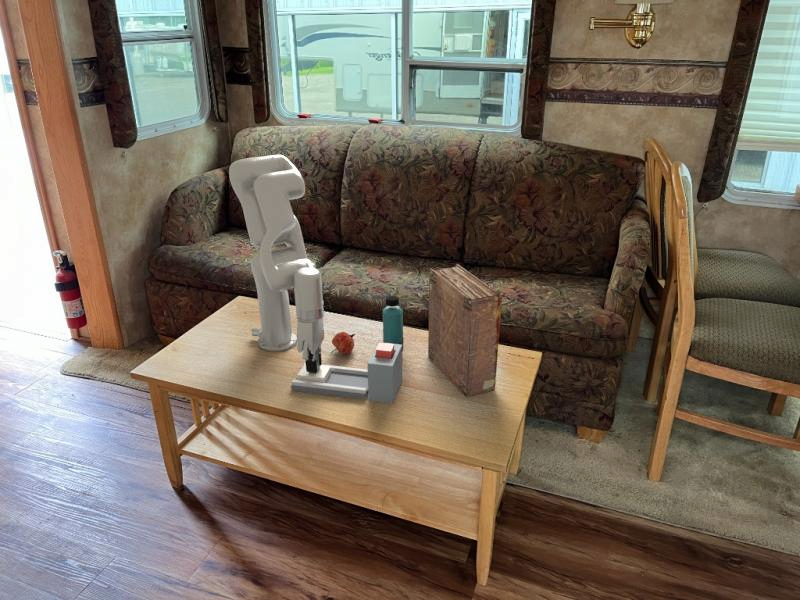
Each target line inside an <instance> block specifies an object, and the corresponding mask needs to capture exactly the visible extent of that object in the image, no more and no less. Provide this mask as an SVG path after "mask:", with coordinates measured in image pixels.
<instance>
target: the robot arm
mask: <svg viewBox="0 0 800 600" xmlns="http://www.w3.org/2000/svg"><path fill="white" fill-rule="evenodd" d="M228 175H229V176H228V177H229V181H230V184H231V187H232V189H233V191H234V194H235V195H236V196H237V198H238V200H239V202H240V204H241V208H242V211H243V215H244V220H245V225H246V229H247V232H248V236H249V240H250V243H251V244H252V246H254V247H256V248H260V249H259V252H258V253H257V254H256V255H254V256H253V257H252V259H251V263H250V266H251V267H250V268H251V272H252V275H253V279H254V282H255V287H256V292H257V293H256V294H257V301H258V308H259V309H258V311H259V317H260V318H259V319H260V327H254V326H253V327H251V329H250V330H251V336H252V337H258V340H257V343H258V347H259V348H260V349H261V350H264V351H268V352H280V351H285V350H288V349H291V348H293V347H294V346H295V345H296V344H297V352H298V353H302V357H301V358H302V360H304V361H305V362H304V363H306V371H307V372H314V373H316V372H317V360H315V351H316V350H317V349H318V348H319V363H320V366H321V365H323V363H322V360H323V359H322V343H323V341H324V338H325V328H324V319H323V318H324V313H325V311H324V312H323V310H324V299H323V286H322V284H323V283H322V274H321V272H320V270H319V269H317V268H316V265H315V263H313V261H312V260H311V259H309V258H308V256H307V252H306V247H305V242H304V237H303V232H302V229H301V225H300V223H299V222H300V221H299V220H298V218H297V217H296V215H295V214H294V211H293V208H292V205H291V201H292V200H297V199H300V198H303V197H304V196H305V193H306V184H305V180H304V178H303V176H302V174H301V172H300V171H299V170H298V168H297V167H296V165H294V163H292V162H291V161H290V160H289V159H288V158H287V157H286V156H284V155H282V154H273V155H272V154H271V155H262V156H252V157H247V158H241V159H238V160H236V161H234V162H233V161H232V163H231V164H230V166H229V170H228ZM283 244H285V245H286V247H282V248H277V249H273V246H277V245H278V246H279V245H283ZM290 289H293V290H294V291H293V292H294V301H295V313H296V319H297V324H296V325H297V326H296V334H295V332H293V331H292V321H291V320H292V319H291V309H290V298H289V291H288V290H290ZM308 353H311V354H312V356H311V355H308Z"/></svg>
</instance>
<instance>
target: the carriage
mask: <svg viewBox="0 0 800 600" xmlns="http://www.w3.org/2000/svg"><path fill="white" fill-rule="evenodd" d="M308 355H311V356H312V354H311V353H308ZM315 360H317V372H316V373H314V372H307V371H306V364H305V365H304V366H303V365H302V367H301V369H300V371H299V372H298V373H297V377H298V380H303V381H311V382H320V383H325V382H326V380H327V379H328V377H329V375H330V374H331V367H330V366H320V363H319V348H318V349H317V350H316V351H315Z"/></svg>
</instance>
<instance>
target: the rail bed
mask: <svg viewBox="0 0 800 600" xmlns="http://www.w3.org/2000/svg"><path fill="white" fill-rule="evenodd" d="M305 364H306V362H303V365H302V367H303V366H304V365H305ZM321 366H330V367H331V374H330V375H329V377H328V379H327V380H326V382H325V383H320V382H311V381H303V380H298V376H297V377H296V379H292V380H291V386H290V390H291V391H292V392H298V393H299V392H300V393H309V394H316V395H323V394H324V395H325V396H330V397H331V396H332V397H341V398H349V399H355V400H363V401H366V400H367V397H368V396H369V394H368V369H363V368H358V367H347V366H339V365H331V364H322V365H321Z"/></svg>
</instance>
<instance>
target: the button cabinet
mask: <svg viewBox="0 0 800 600" xmlns="http://www.w3.org/2000/svg"><path fill="white" fill-rule="evenodd" d="M379 343H382V342H379V341H378V342H377V344H376V347H375V348H374V350H373V352H372V354H371V356H370V358H369V359H368V362H367V370H368V401H371V402H373V401H374V402H379V403H389V404H394V402H395V399H396V397H397V395H398V393H399V390H400V387H401V385H402V382H403V352H402V345H400V344H394V356H393V358H392V359H386V358H377V357H376V349H377V347H378V345H379ZM390 344H391V343H390Z"/></svg>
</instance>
